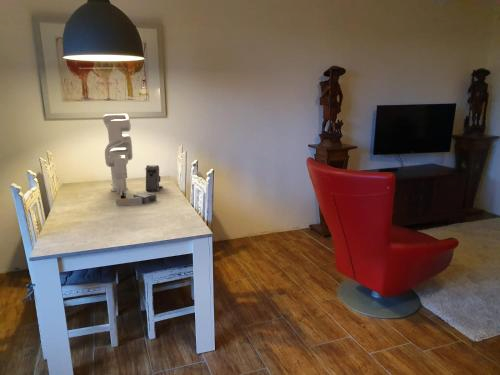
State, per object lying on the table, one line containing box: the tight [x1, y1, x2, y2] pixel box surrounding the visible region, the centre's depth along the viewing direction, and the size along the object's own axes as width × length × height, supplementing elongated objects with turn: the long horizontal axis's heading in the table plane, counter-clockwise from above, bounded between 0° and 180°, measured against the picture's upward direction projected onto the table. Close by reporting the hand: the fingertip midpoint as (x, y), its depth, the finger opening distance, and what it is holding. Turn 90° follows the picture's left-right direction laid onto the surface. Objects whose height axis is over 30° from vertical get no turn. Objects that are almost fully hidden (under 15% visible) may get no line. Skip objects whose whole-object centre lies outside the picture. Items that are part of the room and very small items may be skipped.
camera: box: [145, 164, 163, 193], centre depth 290 cm, size 11×17×20 cm, turn 174°
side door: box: [115, 197, 145, 206], centre depth 251 cm, size 18×1×5 cm, turn 101°
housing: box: [132, 191, 157, 205], centre depth 259 cm, size 13×10×5 cm
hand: (123, 202), depth 253 cm, fingers closed
